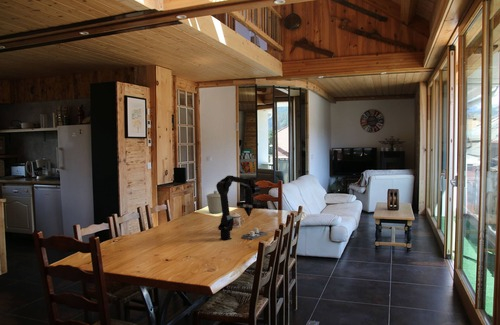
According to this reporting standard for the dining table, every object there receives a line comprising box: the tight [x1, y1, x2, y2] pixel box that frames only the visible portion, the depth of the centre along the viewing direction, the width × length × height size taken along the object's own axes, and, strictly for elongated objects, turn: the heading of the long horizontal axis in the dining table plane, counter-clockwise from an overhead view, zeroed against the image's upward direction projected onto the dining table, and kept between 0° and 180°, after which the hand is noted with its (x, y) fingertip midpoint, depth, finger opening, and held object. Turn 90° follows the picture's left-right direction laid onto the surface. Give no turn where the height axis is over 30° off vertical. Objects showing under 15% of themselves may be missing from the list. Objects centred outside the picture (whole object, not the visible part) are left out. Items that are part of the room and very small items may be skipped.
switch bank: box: [241, 230, 268, 241], centre depth 270 cm, size 18×9×2 cm, turn 142°
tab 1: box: [249, 230, 255, 236], centre depth 264 cm, size 3×3×3 cm
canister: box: [205, 190, 222, 215], centre depth 367 cm, size 18×18×21 cm
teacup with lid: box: [230, 211, 246, 229], centre depth 301 cm, size 12×9×12 cm
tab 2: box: [253, 227, 260, 233], centre depth 275 cm, size 3×3×3 cm
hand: (249, 216), depth 281 cm, fingers closed
